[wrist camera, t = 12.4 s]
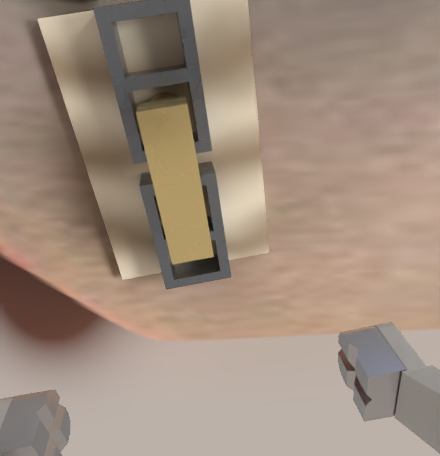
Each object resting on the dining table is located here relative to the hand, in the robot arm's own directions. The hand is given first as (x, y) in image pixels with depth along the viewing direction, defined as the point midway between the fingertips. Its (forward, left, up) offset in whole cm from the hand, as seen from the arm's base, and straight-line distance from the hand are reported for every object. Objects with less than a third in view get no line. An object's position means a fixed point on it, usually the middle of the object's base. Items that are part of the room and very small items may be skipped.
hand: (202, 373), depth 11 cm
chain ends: (0, 0, -21) cm, 21 cm away
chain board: (0, 0, -21) cm, 21 cm away
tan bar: (0, 0, -20) cm, 20 cm away
